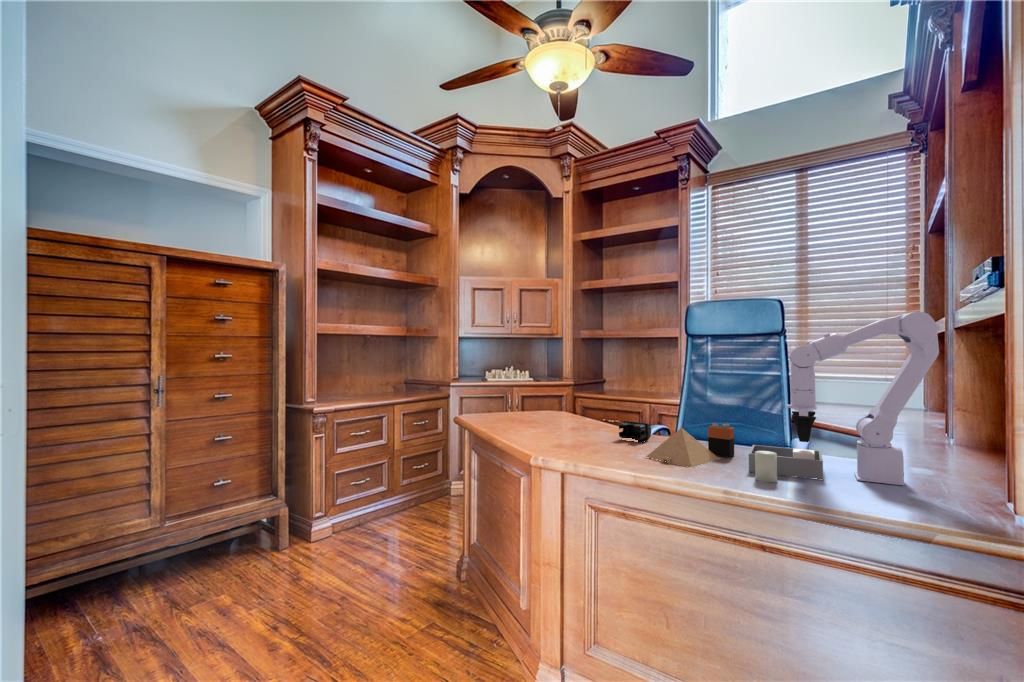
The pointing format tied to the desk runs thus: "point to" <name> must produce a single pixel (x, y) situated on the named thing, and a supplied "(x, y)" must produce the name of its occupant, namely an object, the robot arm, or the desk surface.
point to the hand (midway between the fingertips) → (804, 439)
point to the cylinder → (766, 466)
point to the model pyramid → (683, 450)
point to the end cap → (635, 431)
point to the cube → (803, 454)
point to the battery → (721, 440)
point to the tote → (790, 462)
